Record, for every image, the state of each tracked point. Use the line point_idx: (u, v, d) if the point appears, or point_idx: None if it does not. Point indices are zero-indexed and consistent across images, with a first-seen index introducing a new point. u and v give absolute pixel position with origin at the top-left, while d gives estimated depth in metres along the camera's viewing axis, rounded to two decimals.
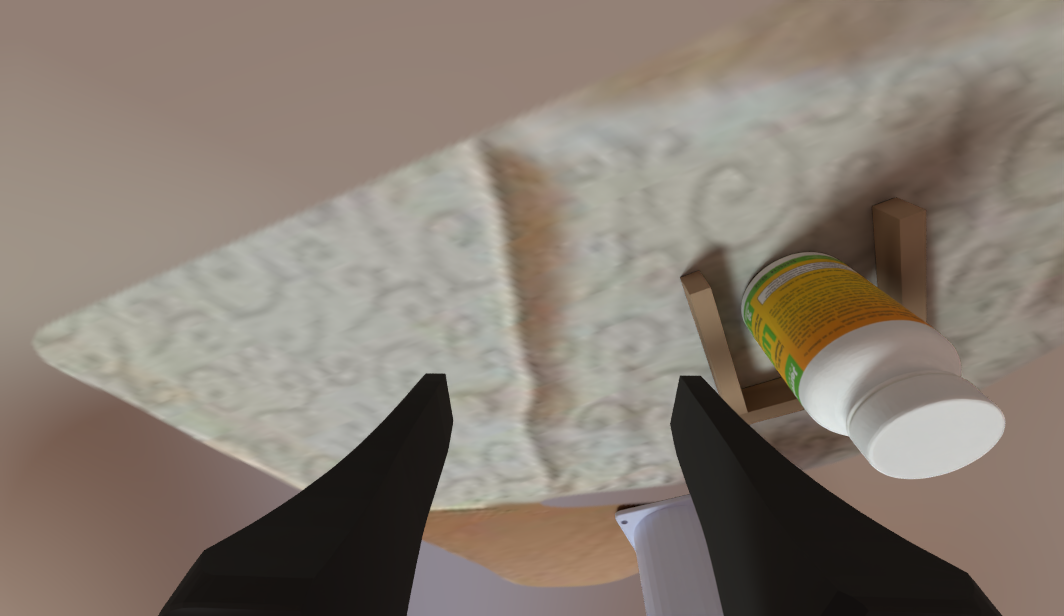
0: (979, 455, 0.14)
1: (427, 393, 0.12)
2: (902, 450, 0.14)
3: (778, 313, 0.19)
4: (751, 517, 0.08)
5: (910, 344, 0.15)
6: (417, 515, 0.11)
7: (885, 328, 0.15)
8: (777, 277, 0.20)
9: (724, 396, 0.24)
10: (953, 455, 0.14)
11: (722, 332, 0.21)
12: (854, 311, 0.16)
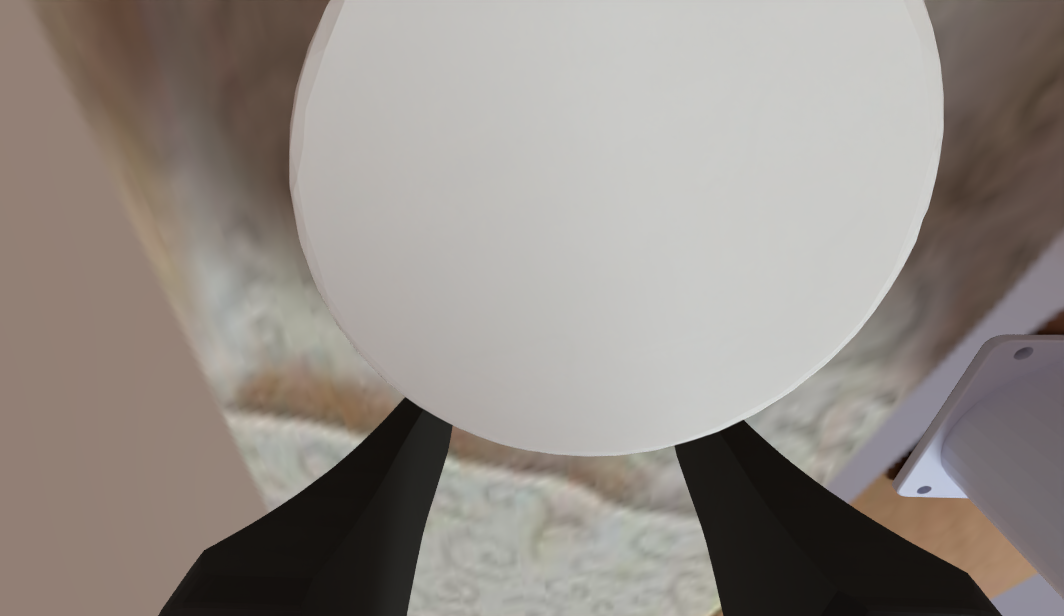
0: (885, 0, 0.02)
1: None
2: (595, 373, 0.03)
3: None
4: (751, 517, 0.08)
5: None
6: (417, 515, 0.11)
7: None
8: None
9: None
10: (772, 168, 0.02)
11: None
12: None
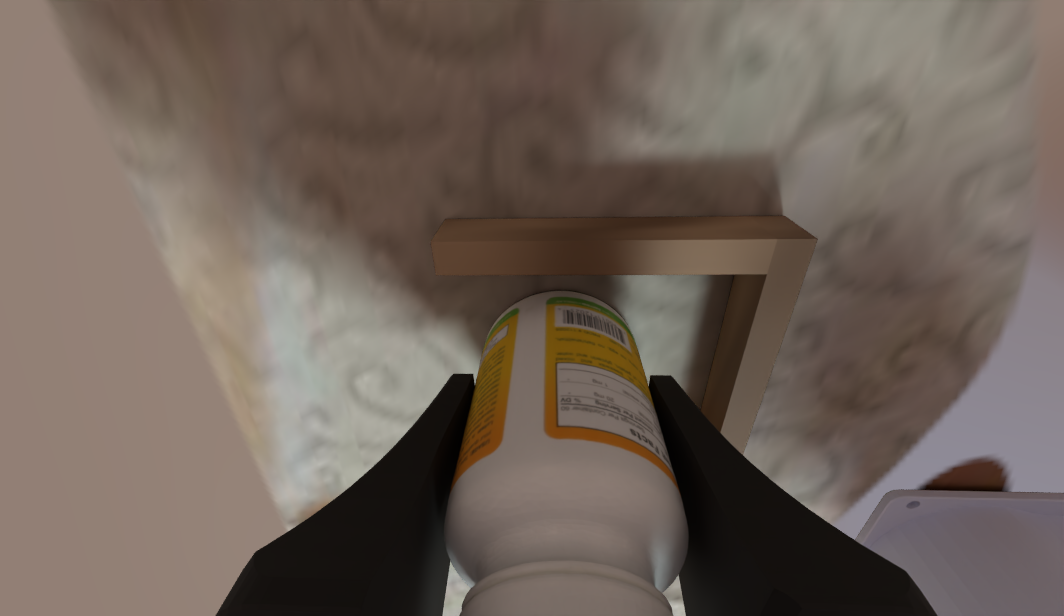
0: None
1: (457, 393, 0.12)
2: None
3: None
4: (707, 516, 0.08)
5: (456, 541, 0.08)
6: None
7: None
8: None
9: None
10: None
11: None
12: None
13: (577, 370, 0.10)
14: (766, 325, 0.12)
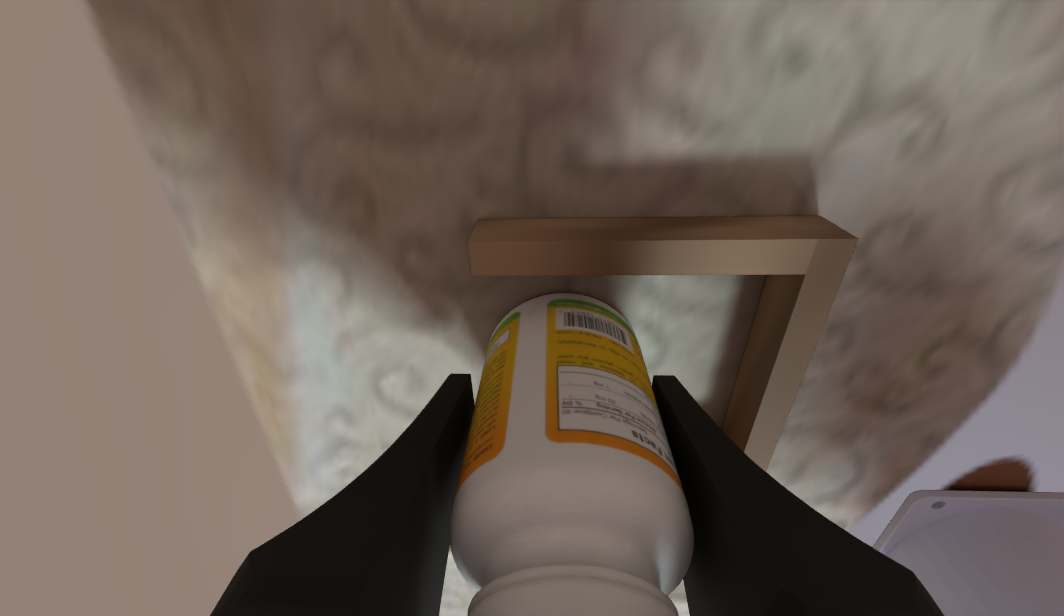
0: None
1: (454, 393, 0.12)
2: None
3: None
4: (711, 516, 0.08)
5: (461, 547, 0.09)
6: (447, 516, 0.11)
7: None
8: None
9: None
10: None
11: None
12: None
13: (578, 373, 0.10)
14: (802, 325, 0.12)
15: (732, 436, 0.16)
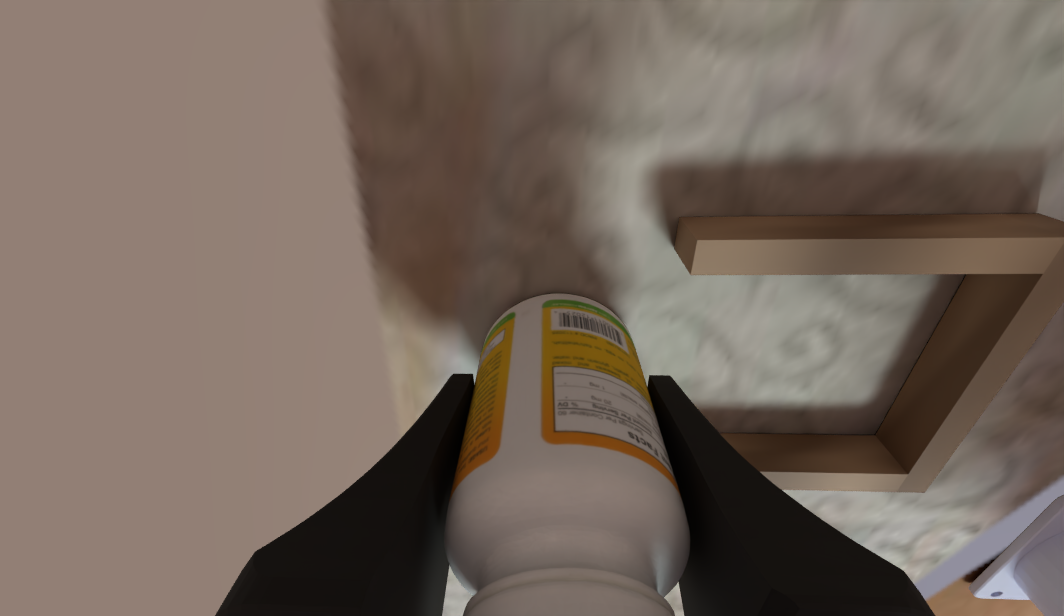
0: None
1: (457, 393, 0.12)
2: None
3: None
4: (705, 516, 0.08)
5: (456, 550, 0.08)
6: None
7: None
8: None
9: (848, 489, 0.16)
10: None
11: None
12: None
13: (574, 373, 0.10)
14: (1022, 326, 0.12)
15: (898, 439, 0.15)
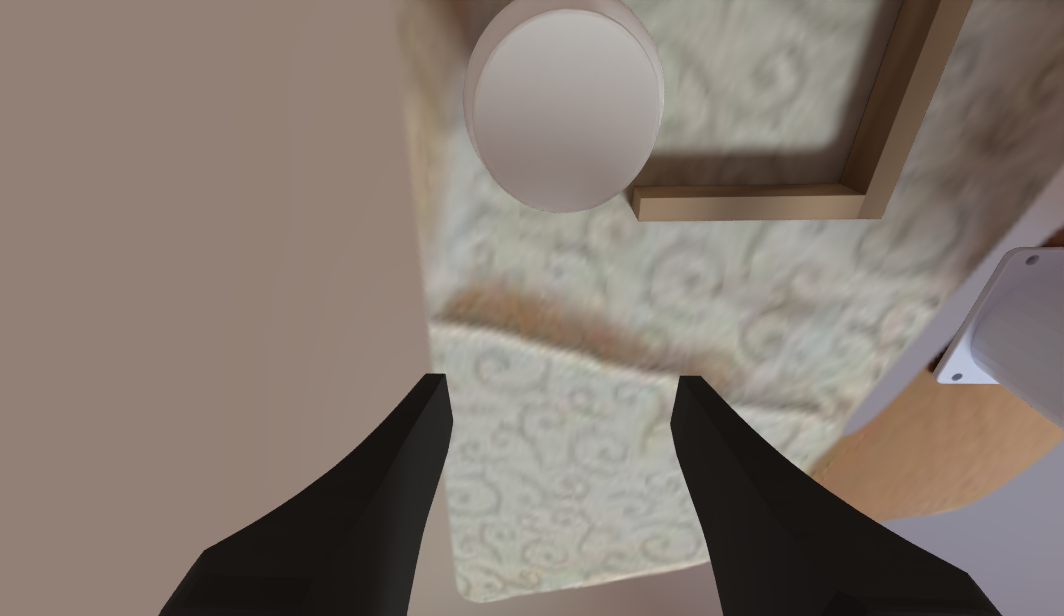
0: (630, 45, 0.08)
1: (427, 393, 0.12)
2: (567, 170, 0.09)
3: None
4: (751, 517, 0.08)
5: (474, 81, 0.10)
6: (417, 515, 0.11)
7: None
8: None
9: (813, 218, 0.18)
10: (612, 91, 0.08)
11: (710, 199, 0.17)
12: None
13: None
14: (953, 1, 0.14)
15: (857, 171, 0.17)
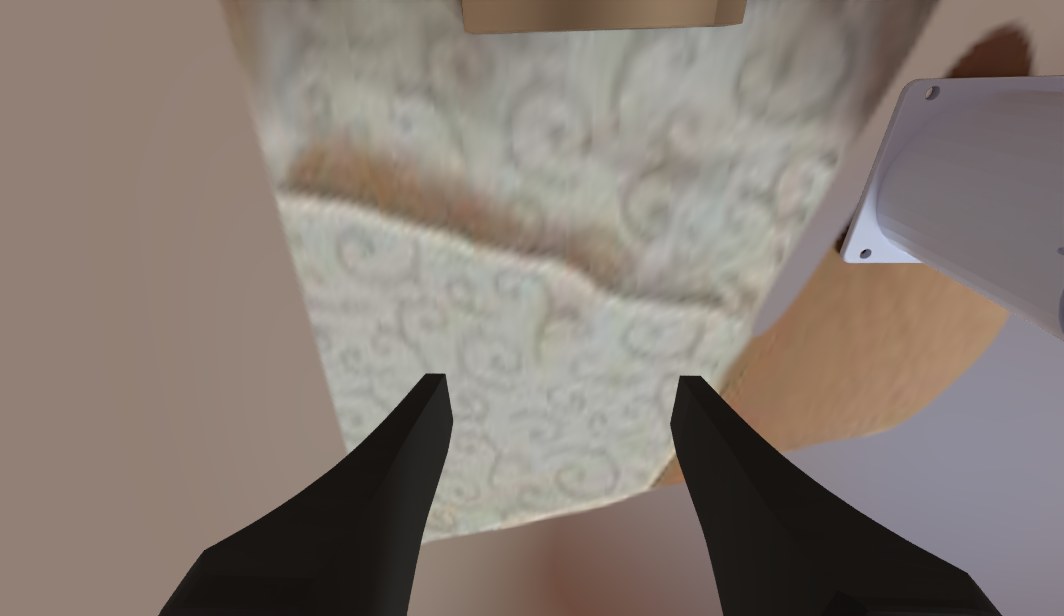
0: None
1: (427, 392, 0.12)
2: None
3: None
4: (751, 517, 0.08)
5: None
6: (417, 515, 0.11)
7: None
8: None
9: (664, 23, 0.15)
10: None
11: None
12: None
13: None
14: None
15: None
